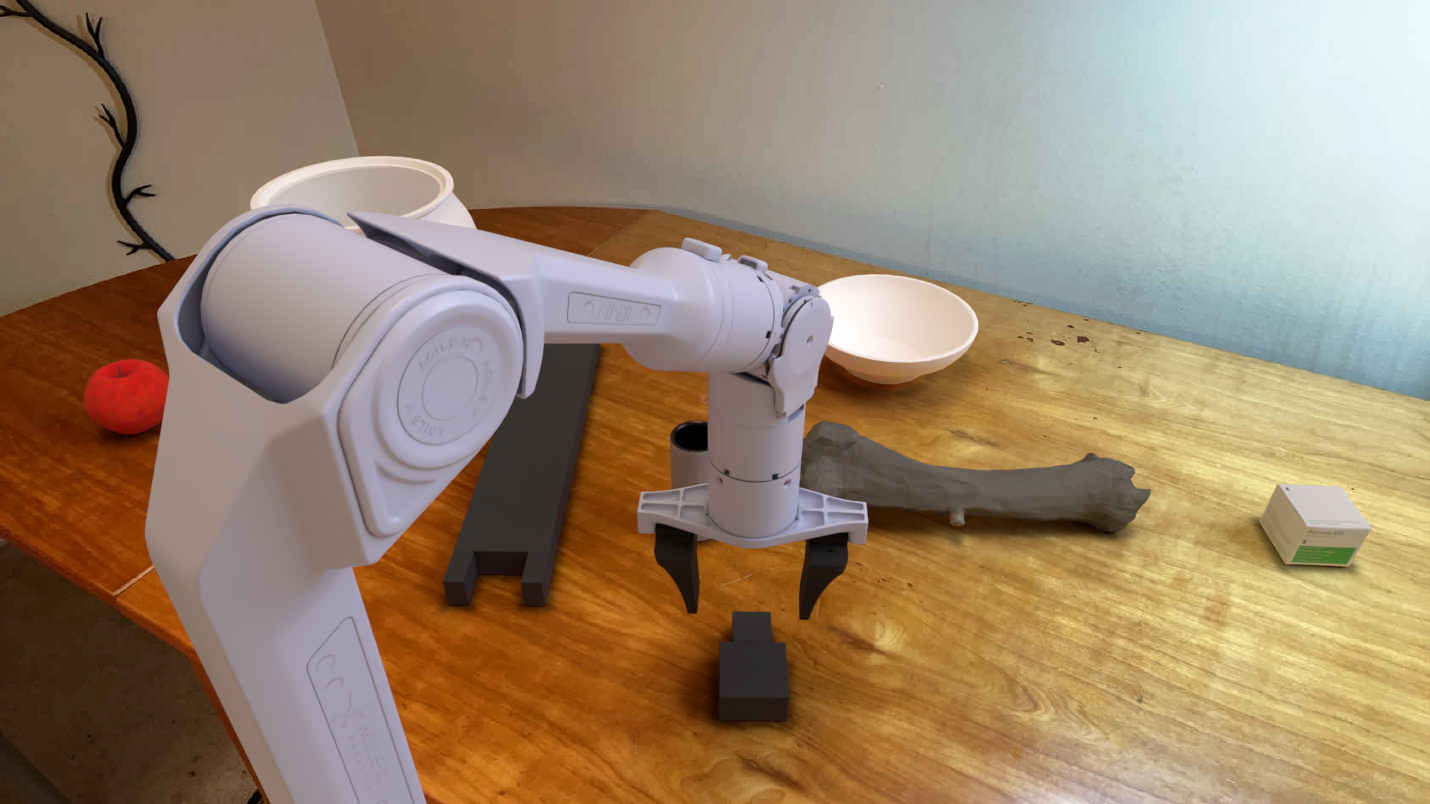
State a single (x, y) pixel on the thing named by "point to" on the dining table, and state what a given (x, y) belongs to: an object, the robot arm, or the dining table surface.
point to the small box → (1314, 525)
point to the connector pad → (753, 671)
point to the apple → (127, 396)
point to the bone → (967, 484)
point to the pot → (369, 190)
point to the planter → (689, 456)
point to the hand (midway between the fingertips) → (748, 605)
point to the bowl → (895, 327)
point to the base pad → (526, 481)
